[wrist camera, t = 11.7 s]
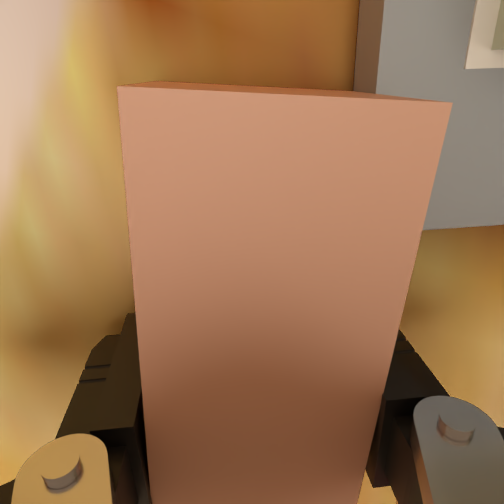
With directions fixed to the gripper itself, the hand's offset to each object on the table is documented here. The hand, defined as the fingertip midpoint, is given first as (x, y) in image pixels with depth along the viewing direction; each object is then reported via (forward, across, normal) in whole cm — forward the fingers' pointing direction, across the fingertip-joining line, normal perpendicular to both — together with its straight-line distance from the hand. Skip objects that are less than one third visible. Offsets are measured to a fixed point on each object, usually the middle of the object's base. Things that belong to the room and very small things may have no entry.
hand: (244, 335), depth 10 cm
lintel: (+1, 0, 0) cm, 1 cm away
